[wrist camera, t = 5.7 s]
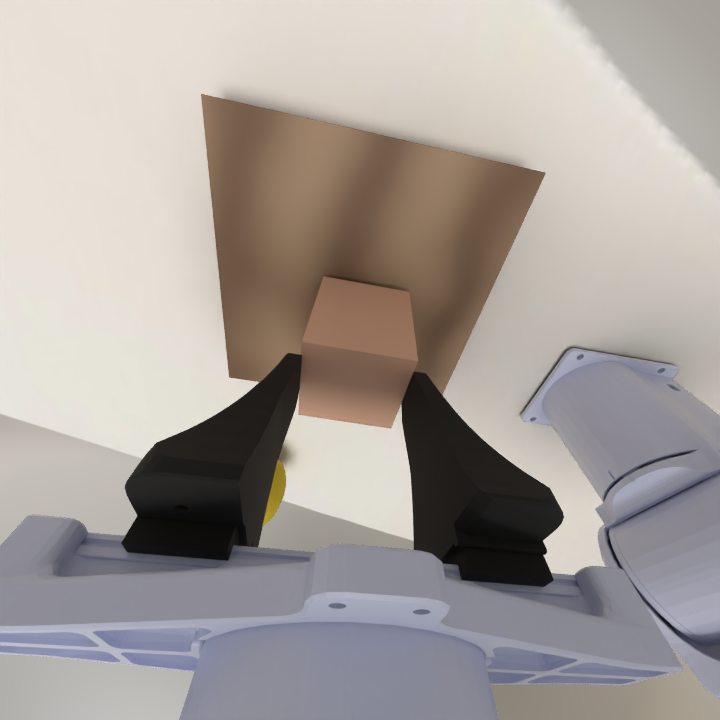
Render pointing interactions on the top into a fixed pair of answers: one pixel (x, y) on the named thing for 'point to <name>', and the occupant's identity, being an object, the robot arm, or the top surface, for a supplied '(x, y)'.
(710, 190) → the top surface
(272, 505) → the lemon
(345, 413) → the cube
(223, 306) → the walnut block
